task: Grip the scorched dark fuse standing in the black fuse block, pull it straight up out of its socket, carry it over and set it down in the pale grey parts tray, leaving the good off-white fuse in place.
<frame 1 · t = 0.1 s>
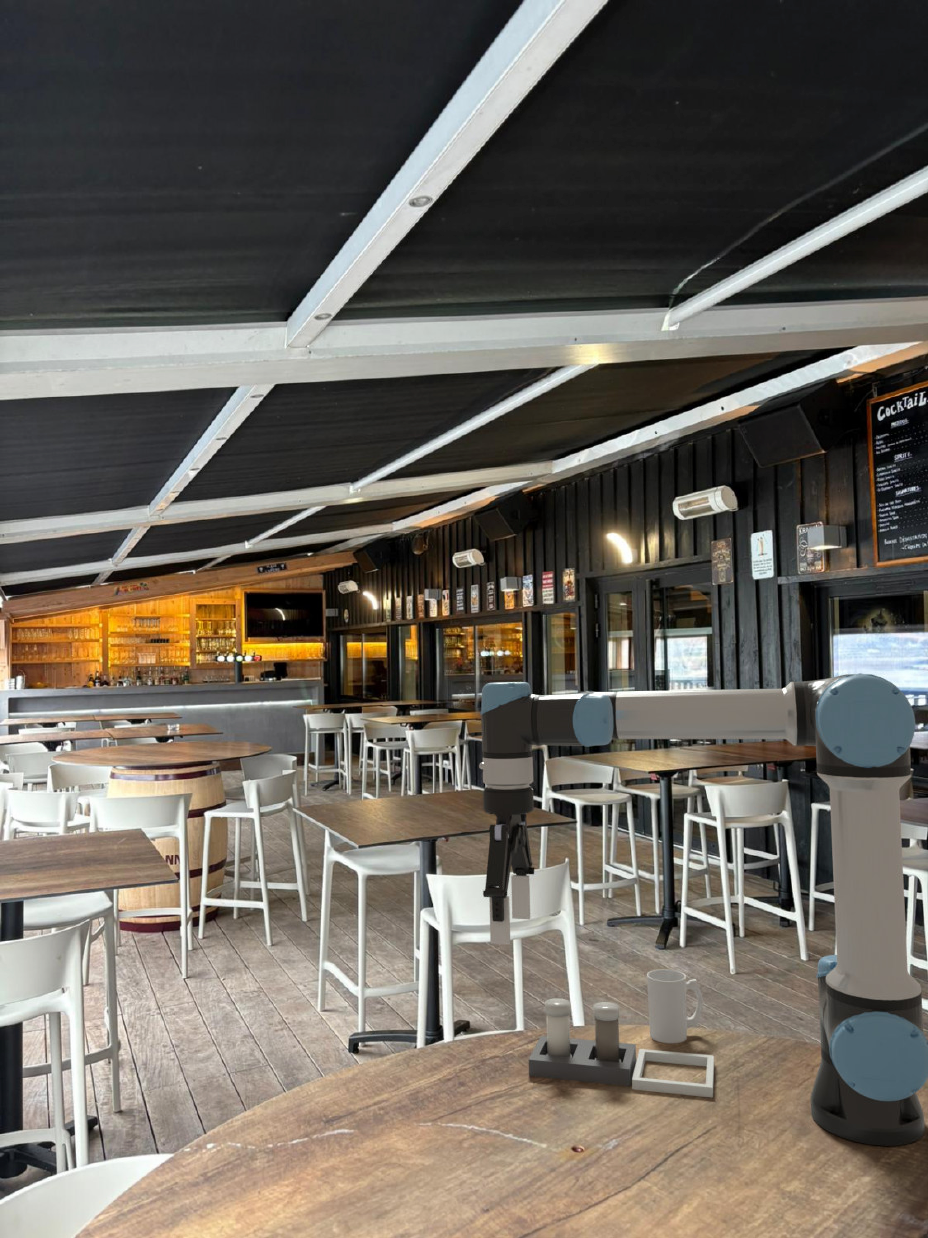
hand: (511, 930, 136), 28 cm above the table, fingers open, 13 cm apart
mug: (677, 1045, 162), on the table
tray: (674, 1086, 146), on the table
fuse blown: (608, 1070, 149), point 1 cm above the table, touching fuse block
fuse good: (559, 1065, 151), point 1 cm above the table, touching fuse block
fuse block: (583, 1077, 150), on the table
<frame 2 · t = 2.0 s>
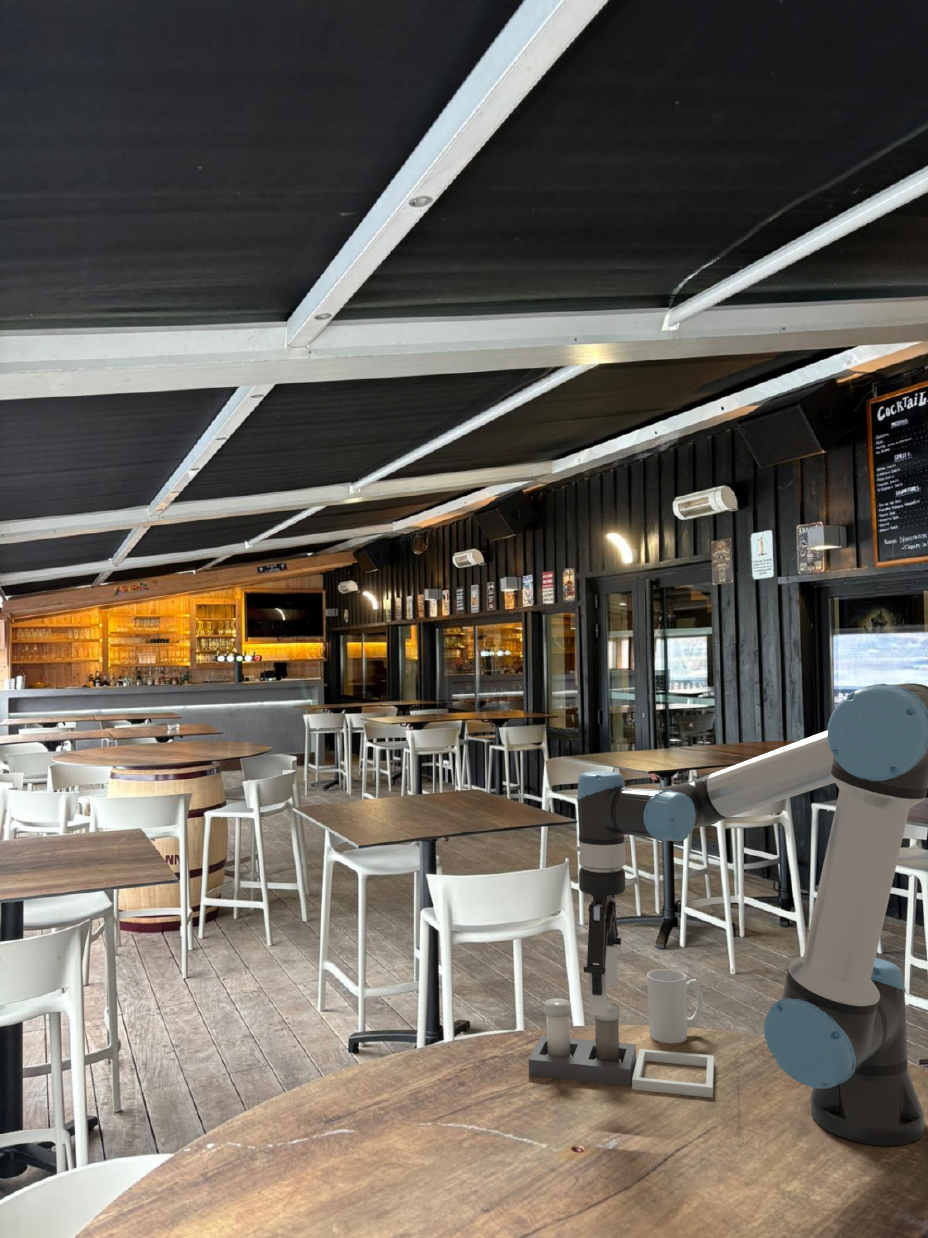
hand: (604, 999, 150), 13 cm above the table, fingers open, 13 cm apart
nothing on the table moved.
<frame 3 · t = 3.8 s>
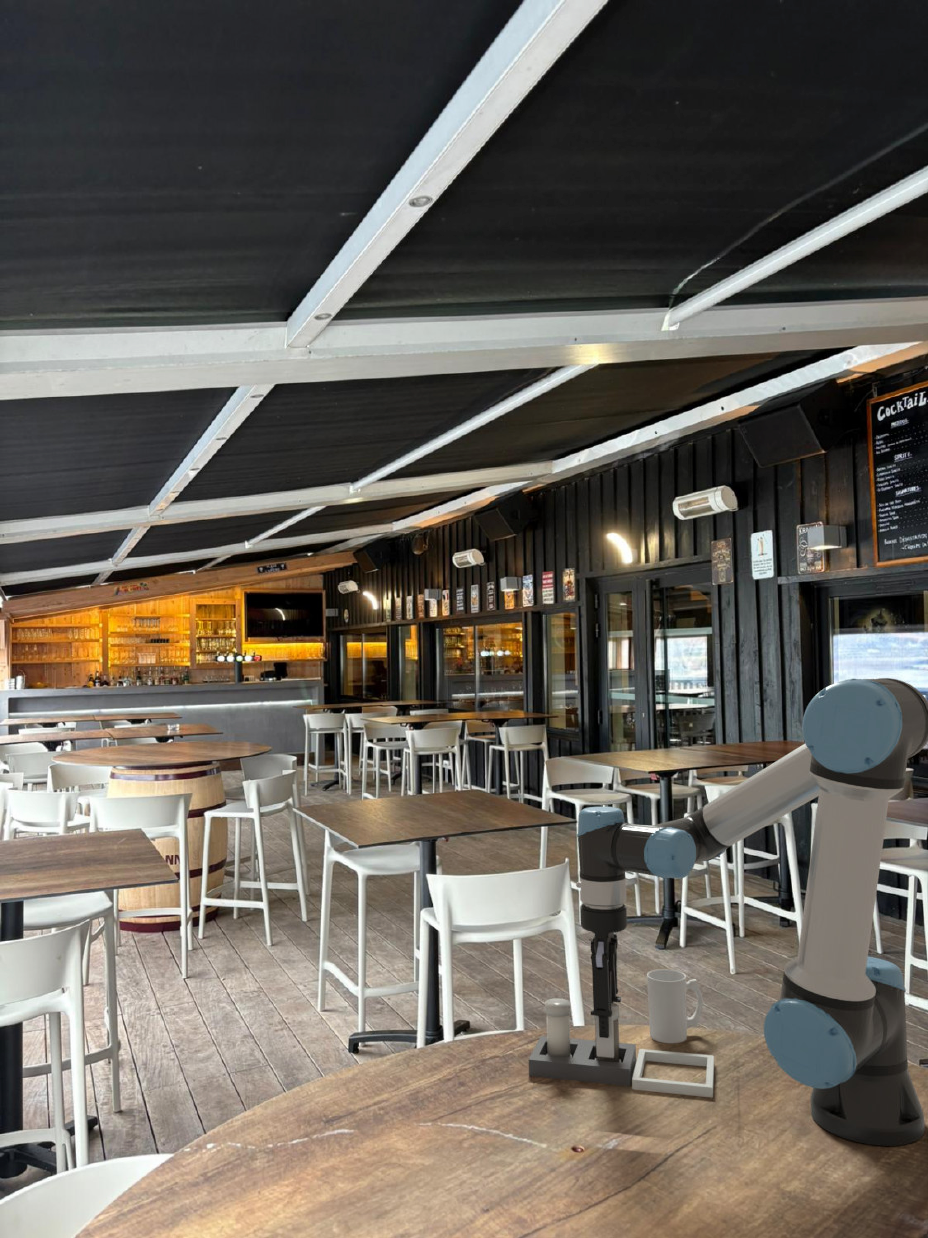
hand: (607, 1050, 149), 5 cm above the table, fingers closed on fuse blown, 4 cm apart
fuse blown: (608, 1070, 149), point 1 cm above the table, touching fuse block, gripper
everything else where it was.
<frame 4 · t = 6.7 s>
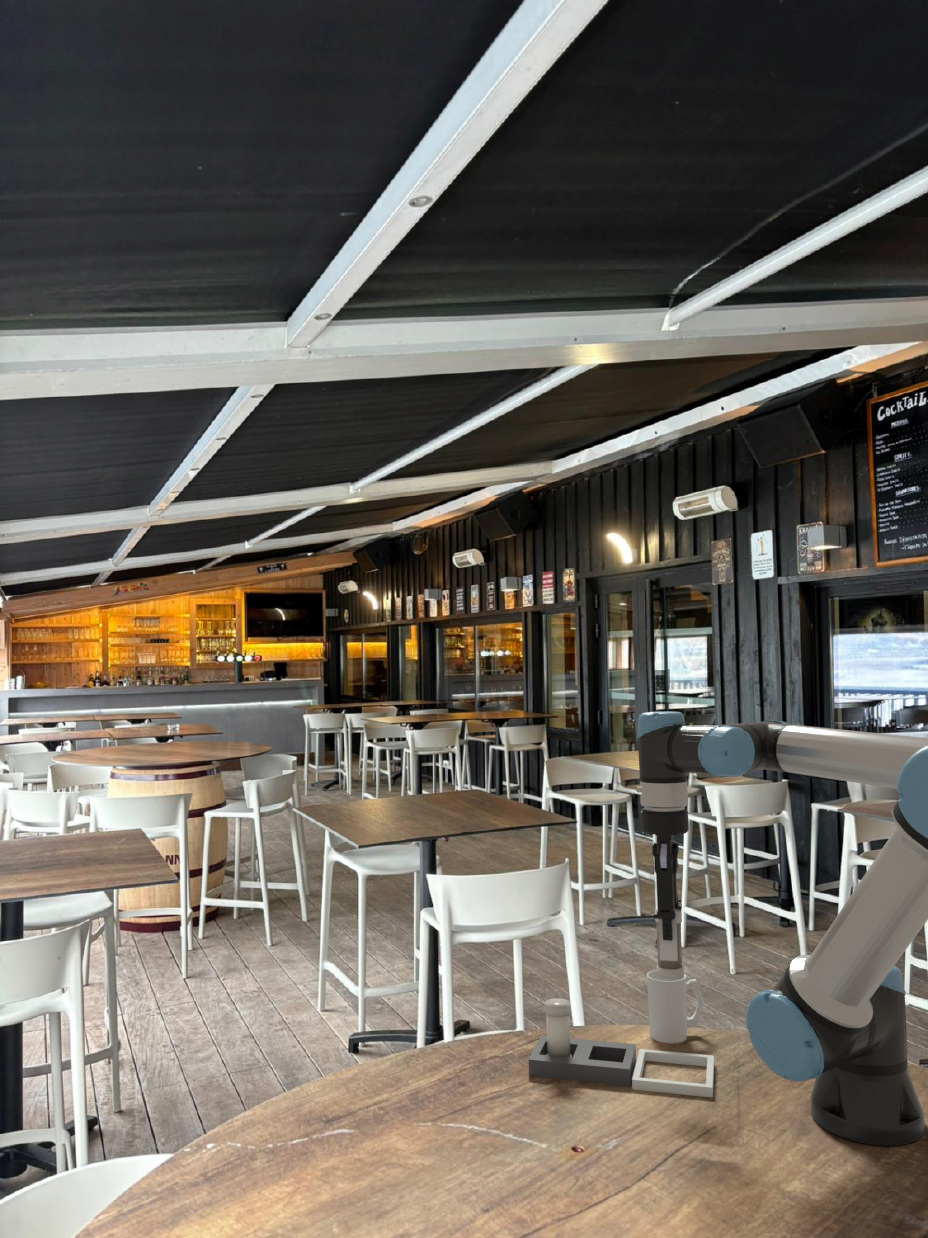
hand: (669, 955, 147), 20 cm above the table, fingers closed on fuse blown, 4 cm apart
fuse blown: (670, 975, 147), point 17 cm above the table, touching gripper
everything else where it was.
when the fingers open (6 cm above the table, at t = 9.6 s): fuse blown drops 2 cm, resting on tray.
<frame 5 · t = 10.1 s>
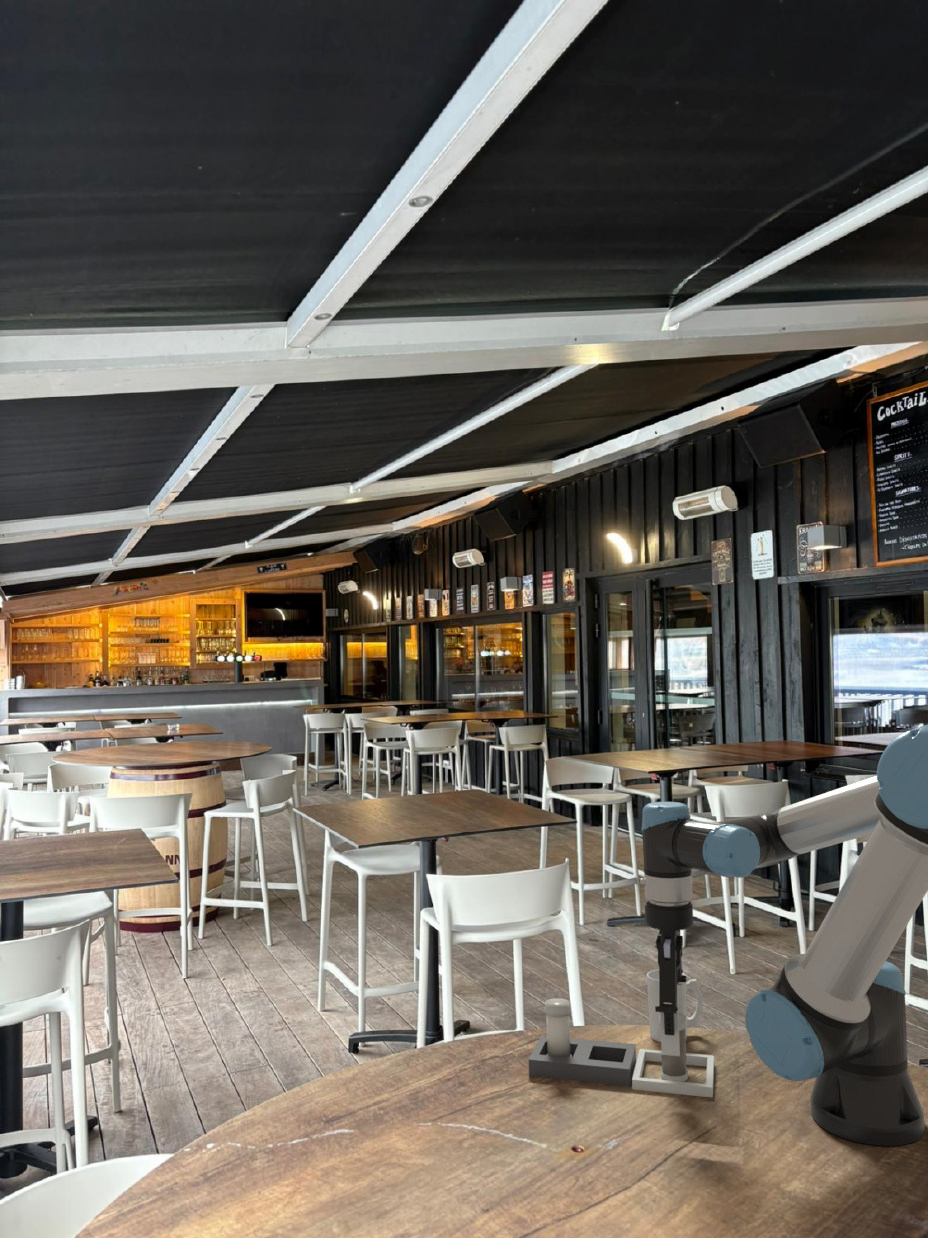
hand: (673, 1039, 146), 7 cm above the table, fingers open, 12 cm apart
fuse blown: (674, 1081, 146), point 1 cm above the table, touching tray
everything else where it was.
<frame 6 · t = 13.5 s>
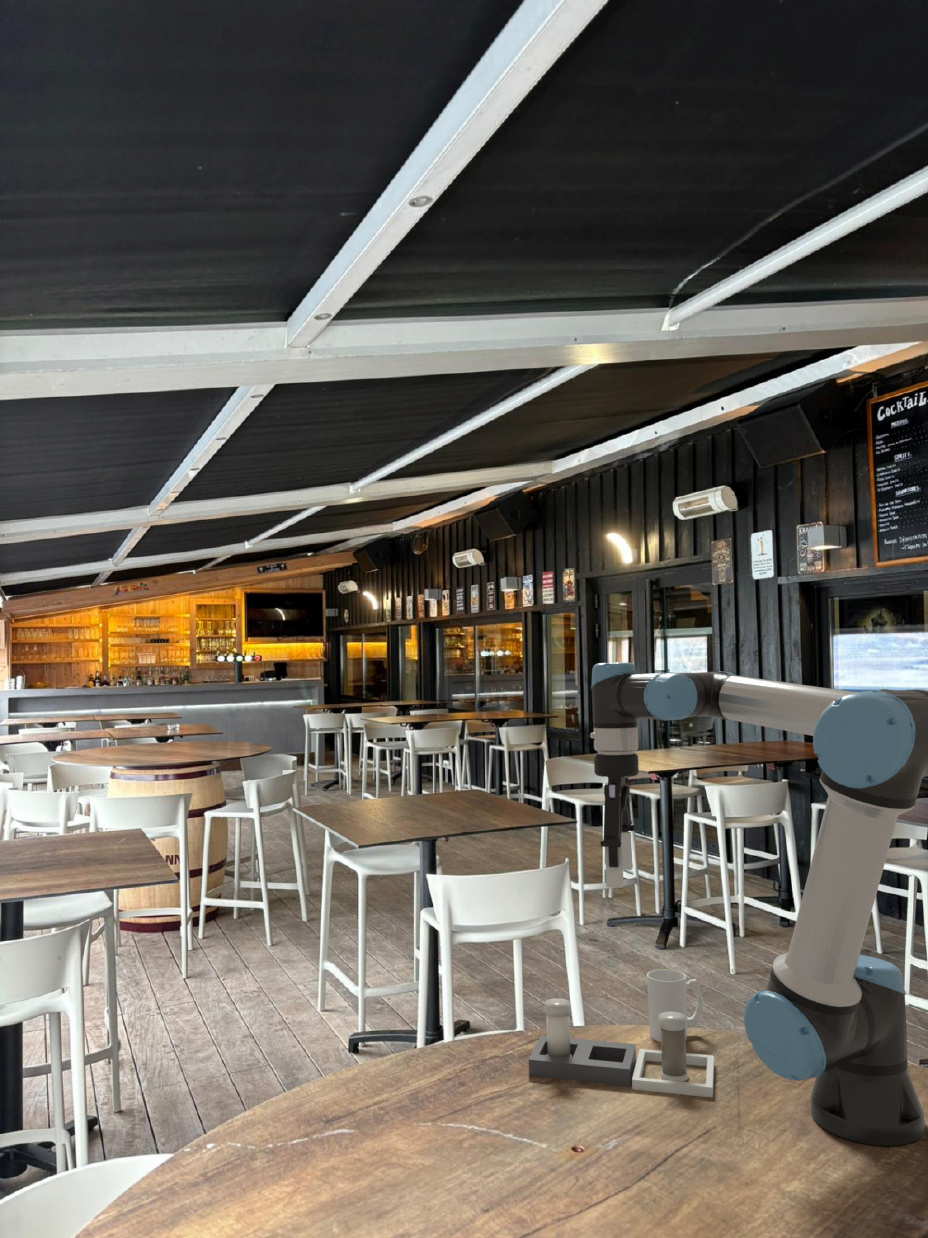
hand: (619, 878, 157), 31 cm above the table, fingers open, 13 cm apart
nothing on the table moved.
at the end: fuse blown inside the target area on the tray (0.0 cm from its centre), point 0.8 cm above the tray's base; the gripper is holding nothing; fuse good moved 0.0 cm from its start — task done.
